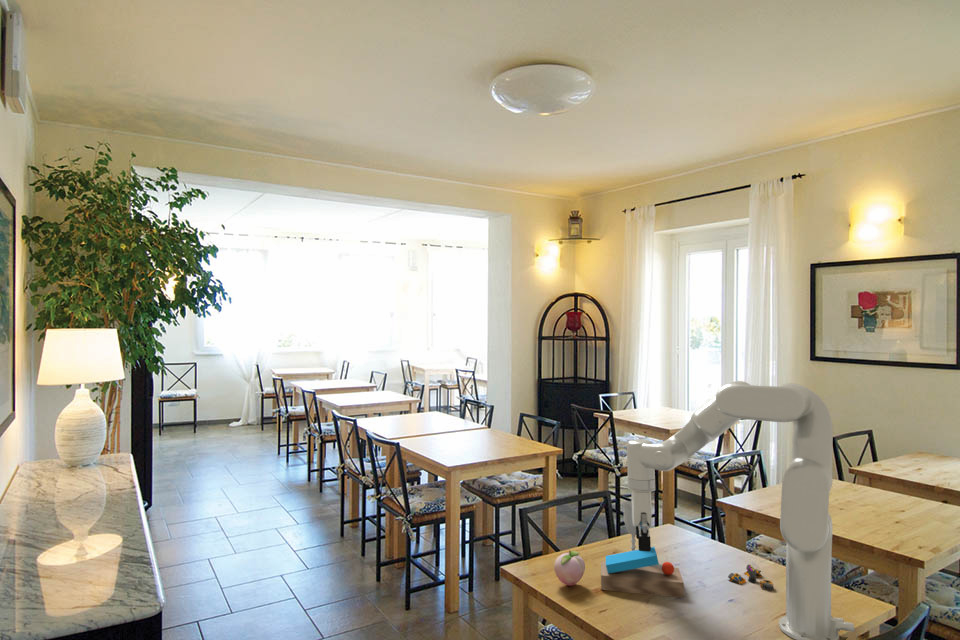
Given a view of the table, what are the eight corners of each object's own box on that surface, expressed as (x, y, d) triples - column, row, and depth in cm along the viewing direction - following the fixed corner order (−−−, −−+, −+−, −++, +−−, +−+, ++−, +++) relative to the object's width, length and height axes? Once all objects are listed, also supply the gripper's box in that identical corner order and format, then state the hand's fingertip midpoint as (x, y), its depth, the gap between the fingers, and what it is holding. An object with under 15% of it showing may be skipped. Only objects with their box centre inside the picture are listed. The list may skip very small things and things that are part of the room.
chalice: (617, 559, 182) (617, 502, 182) (634, 556, 185) (634, 500, 185) (632, 568, 175) (632, 509, 176) (649, 565, 178) (649, 506, 179)
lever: (612, 589, 162) (677, 578, 158) (605, 565, 163) (669, 553, 159) (612, 579, 169) (674, 568, 165) (605, 555, 169) (667, 544, 166)
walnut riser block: (678, 581, 167) (678, 567, 167) (683, 597, 157) (683, 582, 157) (600, 574, 171) (600, 561, 171) (601, 589, 161) (601, 575, 161)
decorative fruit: (561, 576, 170) (562, 542, 170) (588, 582, 165) (588, 548, 166) (548, 588, 162) (548, 552, 162) (576, 595, 157) (576, 559, 157)
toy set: (754, 597, 159) (754, 579, 159) (723, 580, 169) (723, 564, 169) (786, 590, 163) (786, 573, 163) (754, 574, 174) (754, 558, 174)
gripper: (626, 476, 173) (628, 533, 173) (629, 491, 156) (631, 555, 156) (652, 477, 172) (654, 535, 171) (658, 492, 155) (660, 556, 154)
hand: (643, 544), depth 164 cm, fingers open, 9 cm apart
